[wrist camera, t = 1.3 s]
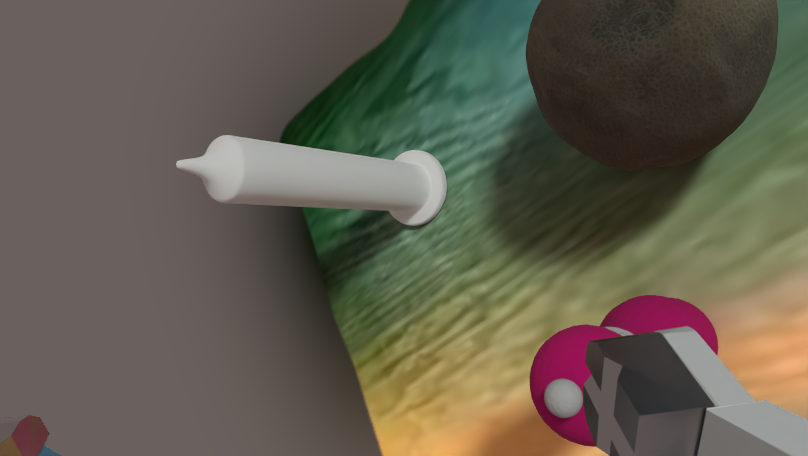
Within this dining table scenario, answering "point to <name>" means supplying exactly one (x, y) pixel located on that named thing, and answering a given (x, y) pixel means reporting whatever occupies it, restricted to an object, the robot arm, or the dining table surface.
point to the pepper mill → (566, 350)
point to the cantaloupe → (649, 74)
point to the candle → (320, 178)
